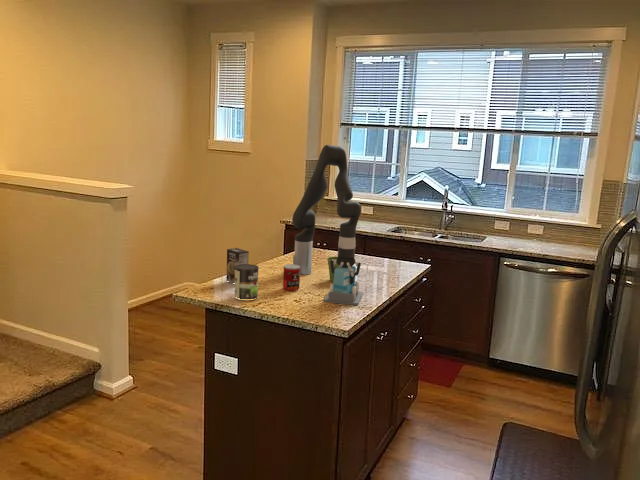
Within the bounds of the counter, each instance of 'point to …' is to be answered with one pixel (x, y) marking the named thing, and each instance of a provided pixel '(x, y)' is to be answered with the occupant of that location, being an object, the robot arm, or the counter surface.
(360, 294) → the tray
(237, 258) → the coffee box
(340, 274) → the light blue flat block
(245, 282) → the coffee can
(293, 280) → the canned food
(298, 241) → the robot arm
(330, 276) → the plant pot
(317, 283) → the counter surface
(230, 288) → the counter surface
